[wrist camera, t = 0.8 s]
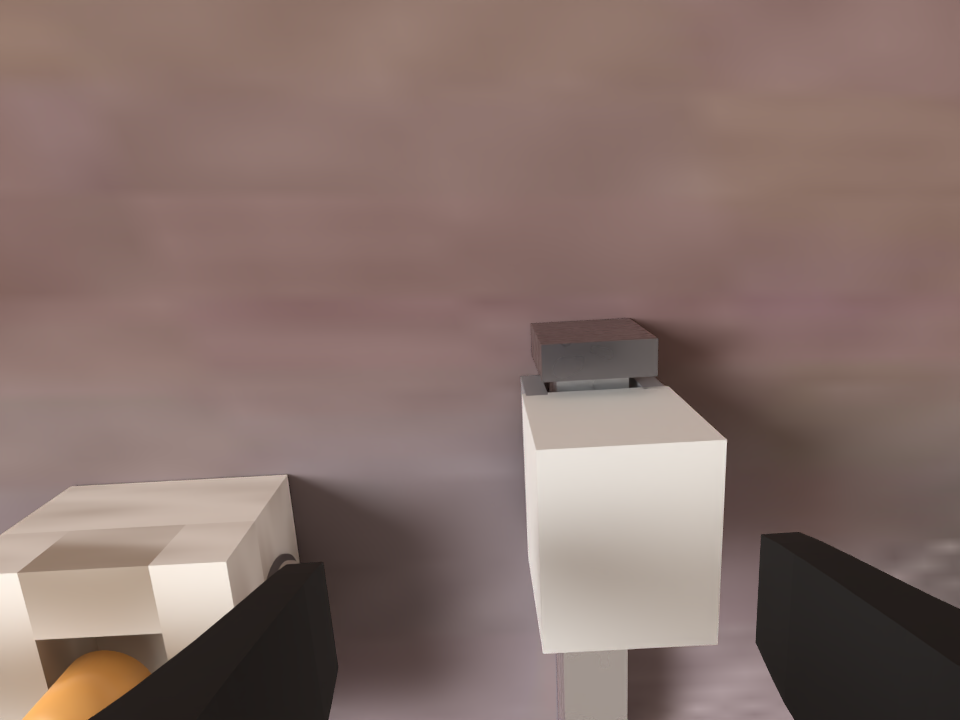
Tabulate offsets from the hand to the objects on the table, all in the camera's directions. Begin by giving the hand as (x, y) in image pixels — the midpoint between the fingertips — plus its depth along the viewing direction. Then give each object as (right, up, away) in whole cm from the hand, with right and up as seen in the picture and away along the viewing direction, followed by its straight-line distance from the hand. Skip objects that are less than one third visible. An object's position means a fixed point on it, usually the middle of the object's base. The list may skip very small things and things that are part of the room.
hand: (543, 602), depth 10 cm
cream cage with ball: (-11, -3, +11) cm, 15 cm away
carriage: (+2, +1, +10) cm, 10 cm away
